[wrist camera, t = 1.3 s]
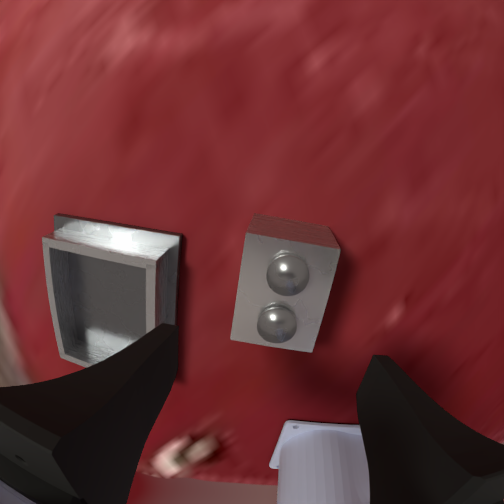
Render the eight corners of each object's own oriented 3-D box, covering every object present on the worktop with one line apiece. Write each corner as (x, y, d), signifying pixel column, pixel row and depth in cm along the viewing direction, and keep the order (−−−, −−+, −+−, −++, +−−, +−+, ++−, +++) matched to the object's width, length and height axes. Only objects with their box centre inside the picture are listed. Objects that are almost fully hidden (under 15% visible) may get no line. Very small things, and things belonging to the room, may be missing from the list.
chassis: (182, 233, 20) (167, 247, 17) (175, 376, 24) (165, 400, 21) (58, 213, 20) (35, 222, 17) (72, 345, 24) (56, 363, 21)
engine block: (328, 225, 19) (342, 253, 14) (307, 312, 21) (312, 358, 16) (254, 212, 19) (244, 235, 14) (240, 301, 21) (228, 344, 16)
